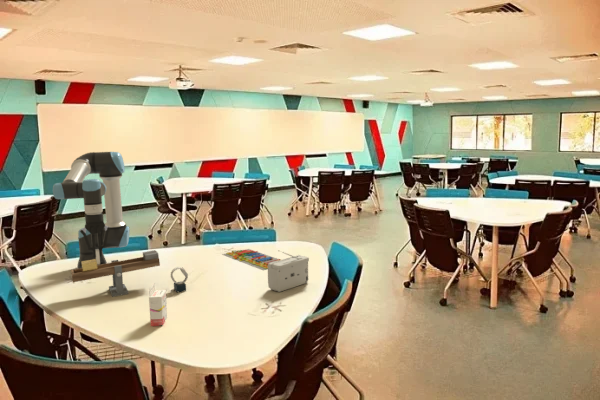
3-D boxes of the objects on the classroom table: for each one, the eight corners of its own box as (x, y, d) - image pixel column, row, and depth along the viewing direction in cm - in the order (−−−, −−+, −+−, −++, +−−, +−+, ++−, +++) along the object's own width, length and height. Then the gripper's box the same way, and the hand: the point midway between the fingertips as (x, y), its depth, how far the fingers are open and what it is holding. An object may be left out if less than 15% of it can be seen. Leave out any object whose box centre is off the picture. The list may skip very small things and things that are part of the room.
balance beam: (71, 277, 212) (70, 264, 211) (156, 261, 230) (154, 249, 229) (72, 282, 204) (71, 269, 204) (159, 265, 222) (158, 253, 221)
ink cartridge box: (163, 326, 178) (161, 289, 176) (150, 326, 178) (147, 290, 176) (167, 317, 187) (165, 282, 185) (155, 318, 186) (153, 282, 184)
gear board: (222, 251, 283) (248, 246, 295) (222, 255, 284) (248, 250, 296) (263, 266, 249) (291, 260, 261) (263, 271, 249) (291, 264, 261)
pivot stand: (108, 288, 223) (106, 260, 221) (124, 286, 226) (122, 258, 224) (112, 297, 211) (110, 267, 209) (128, 294, 215) (126, 265, 213)
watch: (190, 289, 219) (189, 267, 218) (173, 293, 215) (171, 270, 214) (187, 286, 224) (185, 264, 223) (170, 289, 220) (169, 267, 219)
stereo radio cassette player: (299, 279, 232) (298, 240, 229) (310, 283, 226) (310, 243, 224) (267, 289, 218) (266, 248, 215) (279, 293, 212) (277, 251, 209)
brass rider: (82, 271, 212) (81, 261, 212) (96, 269, 215) (95, 259, 214) (83, 275, 208) (82, 264, 207) (98, 272, 211) (96, 261, 210)
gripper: (78, 215, 203) (83, 267, 207) (110, 213, 209) (114, 263, 213) (77, 213, 210) (82, 263, 213) (108, 210, 216) (112, 259, 219)
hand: (98, 263), depth 213 cm, fingers closed
